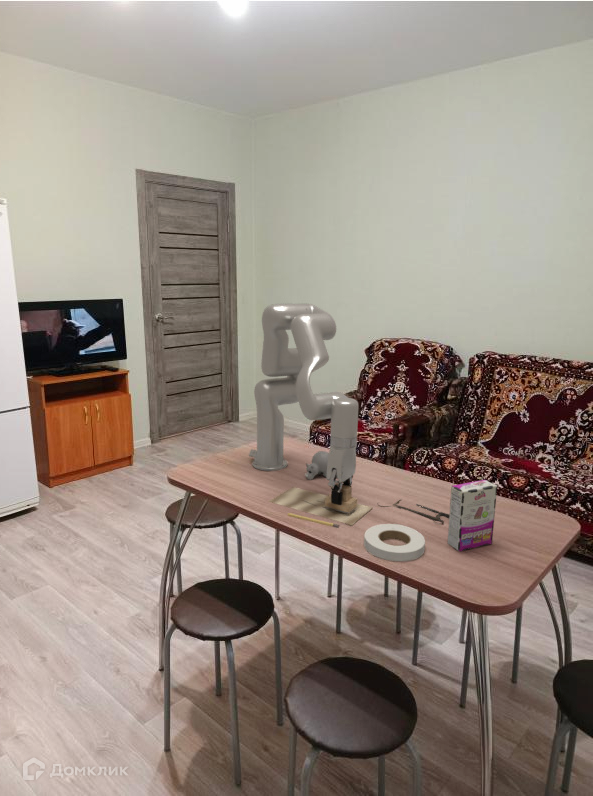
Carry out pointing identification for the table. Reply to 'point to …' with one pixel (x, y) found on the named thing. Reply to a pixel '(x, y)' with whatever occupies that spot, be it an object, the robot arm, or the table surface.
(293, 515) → the pencil
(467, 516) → the candy bar box
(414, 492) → the table surface
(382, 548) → the roll of tape
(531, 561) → the table surface
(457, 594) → the table surface
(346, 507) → the cork sanding block
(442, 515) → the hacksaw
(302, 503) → the birch board
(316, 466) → the toy rhinoceros
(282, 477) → the table surface
